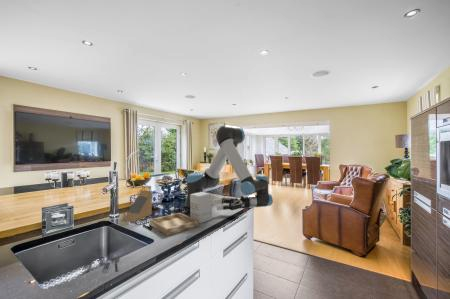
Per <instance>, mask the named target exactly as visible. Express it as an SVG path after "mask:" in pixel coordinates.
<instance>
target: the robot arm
mask: <svg viewBox="0 0 450 299" xmlns="http://www.w3.org/2000/svg"><path fill="white" fill-rule="evenodd" d="M245 136H246V134H245V131H244V129H242V127H239V126H236V125H235V126H234V125H227V124H225V125H222V126H220V127H218V129H217V131H216V135H215V138H216V142H217V144H218V147H219V148H218V150H217V153H216V154H215V157H214V158H213V159H212V162H211V164H210V166H209V167H207V168H206V169H205V170H204V172H201V171H197V172H191V173H189V174H187V175H186V194H187V195H186V198H185V201H184V207H185V208H188V209H190V194H194V193H199V192H204V190H207V189H211V188H212V189H213V188H216V187H217V186H218V185H219V183H220V180H221V179H220V178H221V177H220V172H221V171H222V169H223V168H224V166H225V163H226V161H227V160H228V161H229V163H230V166H231V167H232V169H233V170H234V173H235V174H236V177H237V178H238V180H239V182H240V183H241V184H240V186H239V187H240V192H241V193H242V194H243V195H241V196H240V199H239V198H238V197H221V198H216V199H211V205H216V211H227V210H231V211H235V210H239V209H254V208H263V207H264V208H265V207H269V206H272V205H273V203H274V202H273V201H274V198H273V196H272V194H271V193H269V177H268V175H265V174H257V175H256V176H255V179H254V178H253V176H252V174H251V172H250V170H249V169H248V167H247V165H246V163H245V162H244V160H243V157H242V156H241V155H240V152H239V151H238V149H237V147H238V145H239V144H241V143H243V142H244V141H245ZM255 193H256V194H255Z"/></svg>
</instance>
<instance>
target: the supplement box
mask: <svg viewBox="0 0 450 299" xmlns="http://www.w3.org/2000/svg"><path fill="white" fill-rule="evenodd" d="M211 200H212V193H209V192H205V191H203V192H199V193H194V194H190V208H189V210H190V213H189V214H190V217H191V218H193V219H196V220H198V221H199V224H203V223H204V222H208V221H210V220H212V219H213V216H212V214H213V213H212V212H213V211H212V209H213V208H212V203H211Z"/></svg>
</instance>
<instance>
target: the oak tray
mask: <svg viewBox="0 0 450 299" xmlns="http://www.w3.org/2000/svg"><path fill="white" fill-rule="evenodd" d="M149 226H151V228H152V229H155V230H156V231H158V232H159V233H161V234H162V235H164V236H165V237H168V236H171V235H174V234H175V235H176V234H178V233H182V232H185V231H188V230H191V229H195V228H199V226H200V223H199V221H198V220H196V219H193V218H191V216H189V215H186V214H184V213H181V212H177V213H172V214H168V215H165V216H160V217H155V218H151V219H149Z"/></svg>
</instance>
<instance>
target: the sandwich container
mask: <svg viewBox="0 0 450 299" xmlns="http://www.w3.org/2000/svg"><path fill="white" fill-rule="evenodd" d="M152 197H153V196H152V190H147V189H141V190H140V192H139V193H138V195H137V197H136V198H135V200H134V201H133V203H132V205H131V206H130V208H129V210H128V211H127V213H126V214H125V216H124V218H123V219H122V221H125V220H126V222H132V223H133V222H136V221H139V220H141V219H143V218H146V217H148V216H150V215H152V214H153V213H152V212H153V210H152V209H153V205H152V204H153V203H152V202H153V200H152Z"/></svg>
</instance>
